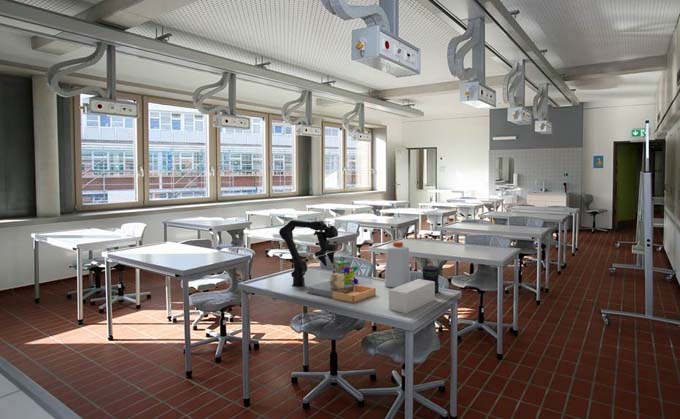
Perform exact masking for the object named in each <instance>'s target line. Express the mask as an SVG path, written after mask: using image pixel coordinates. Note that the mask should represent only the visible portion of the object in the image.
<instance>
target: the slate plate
mask: <svg viewBox="0 0 680 419" xmlns="http://www.w3.org/2000/svg"><path fill="white" fill-rule="evenodd" d="M354 285H355V284H353V285H352V284H349V283H348V284H344V288H340V289H334V288H330V280H328V281H324V282H321V283H317V284H313V285H309V286H307V293H308V294H312V295H317V296H322V297H326V298H330V297H331V298H332V299H333V291H334V292H339V293H344V294H346V293H349V292H352V291H354ZM331 298H330V299H331Z"/></svg>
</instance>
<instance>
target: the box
mask: <svg viewBox="0 0 680 419" xmlns="http://www.w3.org/2000/svg"><path fill="white" fill-rule="evenodd" d="M353 285H354V291H352V292H349V293H346V294H344V293H339V292H334V291H333V298H332V299H334V300H337V301H342V302H348V303H351V304H354V303H357V302H359V301H363V300H365V299H369V298H371V297H373V296H376V295H377V294H376V287H372V286H371V287H370V286H365V285H361V284H360V285H359V284H353Z"/></svg>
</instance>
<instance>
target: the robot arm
mask: <svg viewBox="0 0 680 419" xmlns="http://www.w3.org/2000/svg"><path fill="white" fill-rule="evenodd" d="M298 227H299V228H307V229H308V228H309V229H311V230H313V231H314V232H313V234H312V235H313V236H316V238H317V240H318V241H317V242H318V243H317V246H319V249H318V250H317V251H315V252H314V257H315V258H317V259H318V260H319V261H320V262H321V263H322V265H323V266H324V267H327V265H328V264H327V257H328V259H329V261H330V264H332V265H333V263H334V261H335V253H336V252H337V250H338V247H340V246H339V242H338V241H333V242H330V239H333V238H337V237H338V235H339V230H337V228H336V227H335V226H330V227H328V226H327V224H326V223H325V222H324V220H313V221H309V220H308V221H306V220H296V219H293V220H289V222H288V223H287V224H285V225H284V226H282V227H281V228H280V229H279V231H278V234H279V236H280V238H281V239H282V240H283V241H284V242H285V243H286V246H287V250H288V251H289V253H290V256H291V258H292V261H293V271H292V272H291V273H290V275H291V278H292V284H291V285H292V287H303V286H305V285H306V284H305V283H306V282H305V275H306V272H307V271H308V265H307V262H306V260H303V259H302V258H301V256H300V254H299V252H298V249H297V246H296V244H295V242H294V239H293V237H294V233H293V231H294V230H295V229H296V228H298ZM328 239H329V240H328Z"/></svg>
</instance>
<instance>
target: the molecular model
mask: <svg viewBox="0 0 680 419" xmlns="http://www.w3.org/2000/svg"><path fill="white" fill-rule="evenodd" d="M349 269H350V270H349ZM358 269H359V267H358V266H357V265H355V266H353V267H350V268H349V267H348V266H346V267H345V268H344V272H343V273H342V274H345V272H347V273H348V274H349V275H344V276H349V278H348V279H346V278H345V277H344V284H348V285H349V283H354V284H358V283H359V280H358V278H356V277H355V272H356V271H358ZM351 270H352V271H351ZM351 279H352V280H351Z"/></svg>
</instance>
